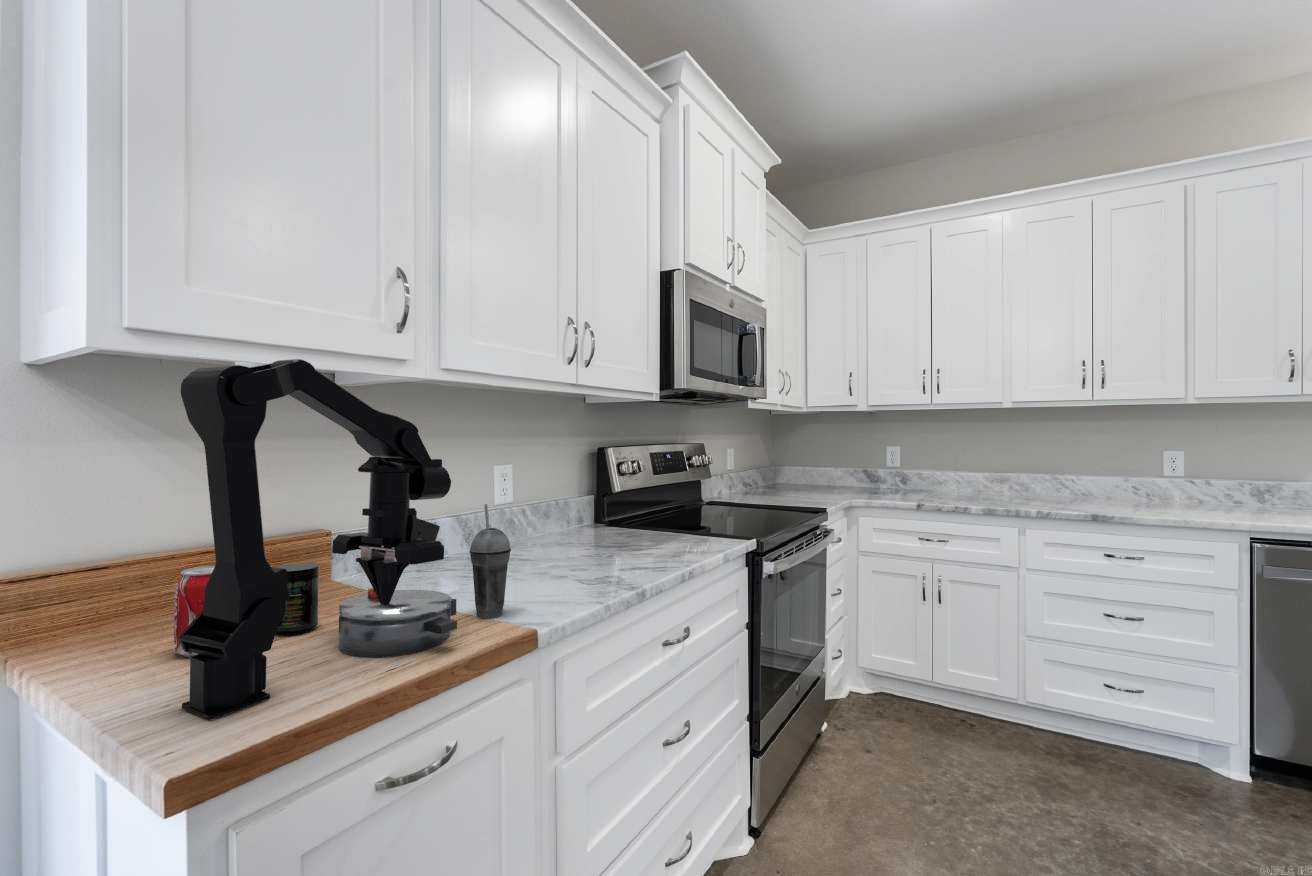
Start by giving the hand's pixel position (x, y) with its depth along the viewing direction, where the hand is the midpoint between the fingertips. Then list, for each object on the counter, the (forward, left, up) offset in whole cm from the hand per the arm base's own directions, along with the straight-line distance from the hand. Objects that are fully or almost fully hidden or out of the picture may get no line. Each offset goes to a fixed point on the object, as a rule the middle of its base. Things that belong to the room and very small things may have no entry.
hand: (385, 603), depth 90 cm
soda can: (-15, +20, -6) cm, 26 cm away
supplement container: (-3, +18, -6) cm, 19 cm away
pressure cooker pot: (+2, 0, -6) cm, 6 cm away
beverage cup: (+19, -4, -6) cm, 20 cm away
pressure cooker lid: (+2, 0, -1) cm, 2 cm away
